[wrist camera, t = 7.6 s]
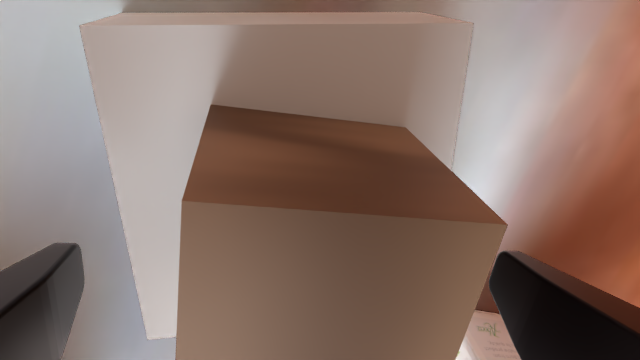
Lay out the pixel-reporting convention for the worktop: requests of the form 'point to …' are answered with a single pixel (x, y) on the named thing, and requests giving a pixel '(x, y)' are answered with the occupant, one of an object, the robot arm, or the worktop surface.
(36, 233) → the worktop surface
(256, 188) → the walnut cube
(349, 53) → the base block
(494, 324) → the syrup box
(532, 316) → the robot arm
